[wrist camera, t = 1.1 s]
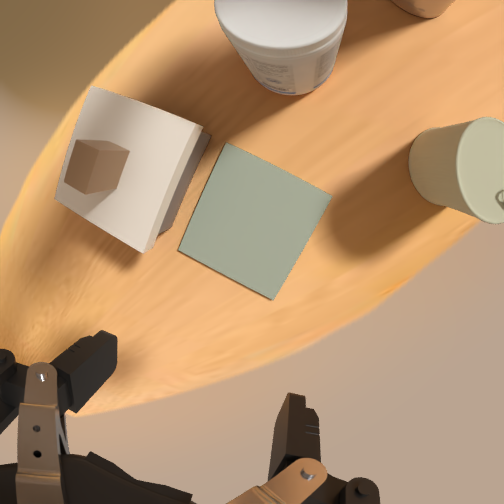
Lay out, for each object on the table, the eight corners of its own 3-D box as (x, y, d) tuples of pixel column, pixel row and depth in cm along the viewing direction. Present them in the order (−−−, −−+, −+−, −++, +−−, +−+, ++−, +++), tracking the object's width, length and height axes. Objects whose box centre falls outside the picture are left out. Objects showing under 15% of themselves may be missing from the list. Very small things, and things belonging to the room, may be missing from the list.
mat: (227, 142, 32) (226, 142, 32) (332, 196, 32) (332, 196, 32) (179, 249, 37) (178, 249, 36) (273, 299, 36) (273, 300, 36)
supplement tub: (310, 15, 26) (312, -60, 12) (347, 81, 28) (378, 27, 14) (234, 44, 29) (193, -20, 15) (268, 110, 30) (243, 71, 16)
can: (432, 220, 31) (484, 247, 19) (393, 152, 29) (438, 147, 18) (482, 180, 28) (543, 192, 17) (447, 114, 27) (504, 99, 15)
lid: (102, 88, 27) (60, 77, 20) (203, 126, 26) (172, 116, 20) (66, 196, 31) (23, 206, 24) (152, 247, 31) (116, 270, 24)
